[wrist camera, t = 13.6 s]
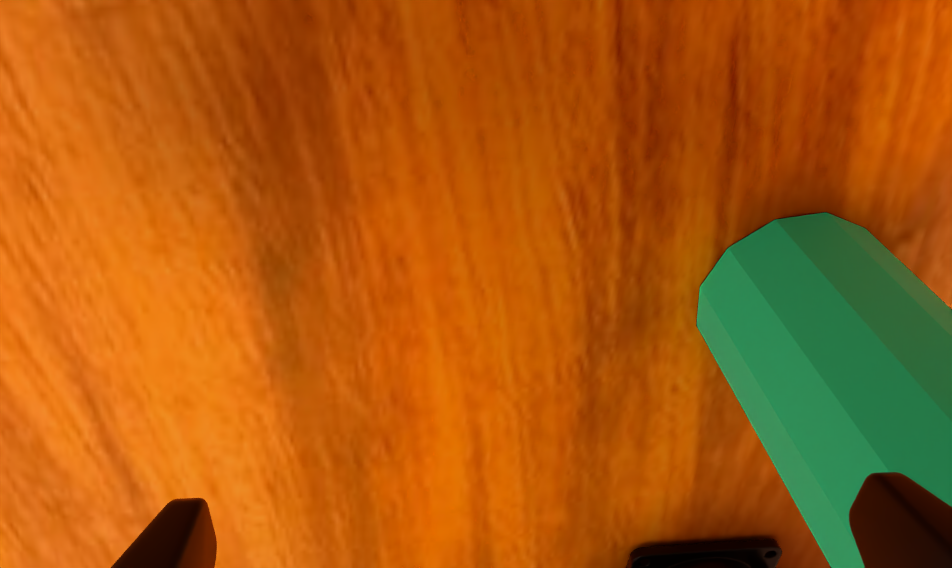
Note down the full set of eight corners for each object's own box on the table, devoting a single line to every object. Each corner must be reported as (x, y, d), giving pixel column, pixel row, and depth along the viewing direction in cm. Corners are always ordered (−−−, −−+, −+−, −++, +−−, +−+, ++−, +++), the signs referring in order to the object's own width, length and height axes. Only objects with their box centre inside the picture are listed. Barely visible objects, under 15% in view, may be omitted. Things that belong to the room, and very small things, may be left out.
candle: (733, 203, 21) (1031, 572, 11) (915, 221, 22) (1339, 576, 12) (671, 359, 24) (857, 750, 14) (831, 369, 25) (1110, 742, 15)
